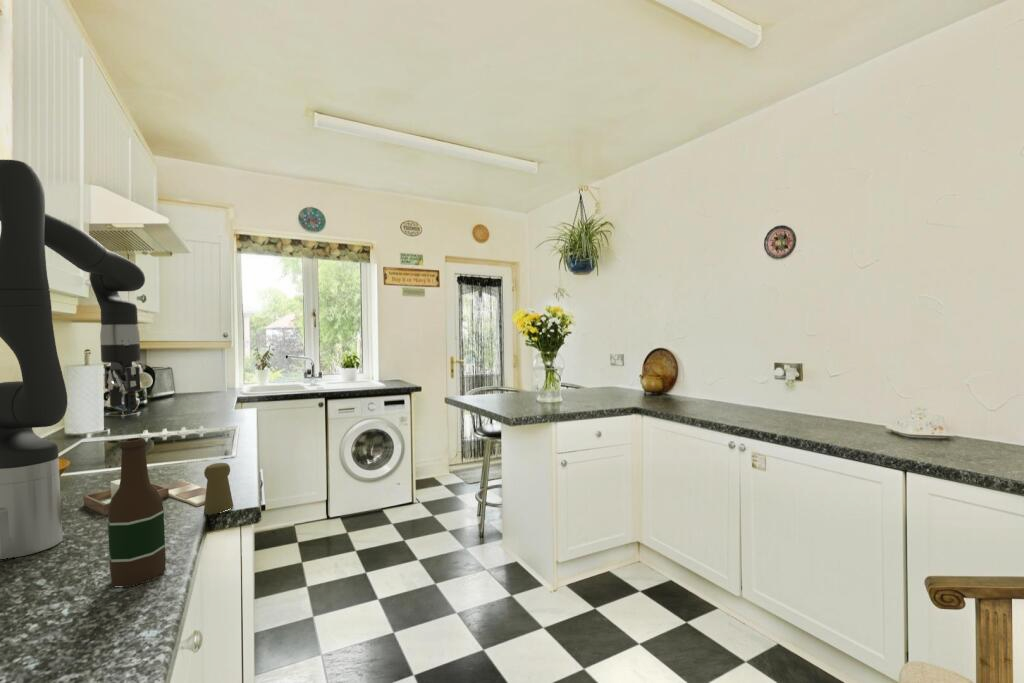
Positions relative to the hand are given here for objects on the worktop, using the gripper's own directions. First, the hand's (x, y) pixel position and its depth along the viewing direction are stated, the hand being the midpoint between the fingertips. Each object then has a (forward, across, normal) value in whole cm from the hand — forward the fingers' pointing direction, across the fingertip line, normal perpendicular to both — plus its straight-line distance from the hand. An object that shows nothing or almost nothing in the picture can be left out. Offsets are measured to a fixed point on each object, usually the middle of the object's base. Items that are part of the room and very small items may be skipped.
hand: (123, 407), depth 116 cm
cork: (+24, +27, +9) cm, 37 cm away
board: (+24, +8, +11) cm, 27 cm away
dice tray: (+24, 0, 0) cm, 24 cm away
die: (+24, 0, 0) cm, 24 cm away
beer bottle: (+24, +47, -14) cm, 55 cm away
